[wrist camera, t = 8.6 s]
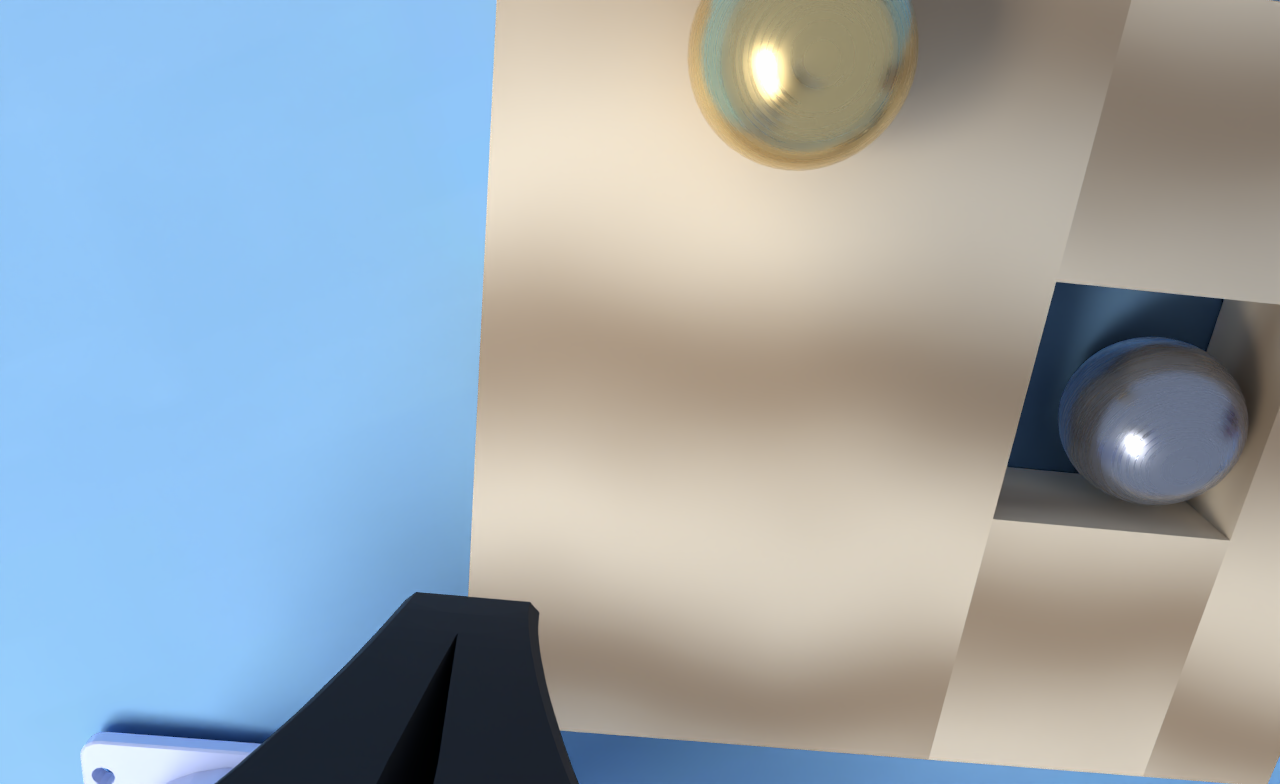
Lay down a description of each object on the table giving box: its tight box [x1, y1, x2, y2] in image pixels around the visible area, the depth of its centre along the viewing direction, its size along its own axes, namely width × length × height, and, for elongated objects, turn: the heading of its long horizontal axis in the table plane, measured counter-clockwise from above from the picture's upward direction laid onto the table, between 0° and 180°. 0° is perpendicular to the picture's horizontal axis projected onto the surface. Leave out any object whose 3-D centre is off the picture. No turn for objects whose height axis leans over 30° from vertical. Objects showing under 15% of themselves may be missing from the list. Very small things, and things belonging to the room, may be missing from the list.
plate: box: [468, 0, 1280, 784], centre depth 19 cm, size 15×17×2 cm
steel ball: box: [1058, 337, 1248, 505], centre depth 19 cm, size 3×3×3 cm
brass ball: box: [687, 0, 919, 171], centre depth 14 cm, size 3×3×3 cm
